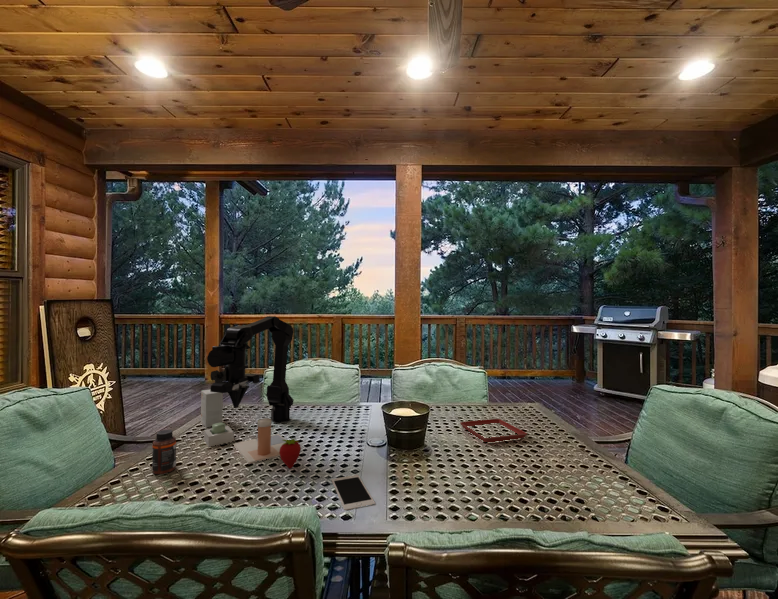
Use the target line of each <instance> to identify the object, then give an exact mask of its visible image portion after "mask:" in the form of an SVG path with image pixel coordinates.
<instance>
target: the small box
mask: <svg viewBox="0 0 778 599" xmlns="http://www.w3.org/2000/svg"><path fill="white" fill-rule="evenodd" d="M200 392H201V394H200V395H201V396H200V423H201V424H202V425H203V427H205V428H210V427H211V426H212V425H213V424H215V423H223V409H224V408H223V407H224V405H223V401H224V400H223V398H224V397H223V396H224V393H218V392H210V389H204V390H201V391H200ZM211 428H212V427H211Z"/></svg>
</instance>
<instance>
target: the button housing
mask: <svg viewBox="0 0 778 599" xmlns="http://www.w3.org/2000/svg"><path fill="white" fill-rule="evenodd" d="M234 433H235V432H234V430H232V428H231V427H230V426H229V425H225V432H223V433H218V434H212V428H207V429H204V430H203V442H205V444H206V446H207V447H208V448H211V446H212V447H216V446H220V445H219V444H221V445H224V444H223V443H226V444H228V443H227V442H230V443H233V442H232V441H235V440H234V439H235V438H234V437H235V436H234V435H235V434H234ZM215 445H216V446H215Z"/></svg>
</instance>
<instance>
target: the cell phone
mask: <svg viewBox="0 0 778 599" xmlns="http://www.w3.org/2000/svg"><path fill="white" fill-rule="evenodd" d="M331 482H332V485H333V486H334V487H333V488H334V490H335V492H336V494H337V496H338V499H339V501H340V504H341V506H342V508H343V510H344V511H349V510H353V509H354V508H356V509H359V508H358V507H361V506H366V505H371V506H373V505H372V504H375V505H376V502H375V500H374V498H373V497H372V495H371V493H370V492H369V490H368V488H367V487H366V485H365V484H364V482H363V480H362V478H361V477H360V476H359V474H354V475H348V476H343V477H336V478H331ZM366 507H367V506H366ZM361 508H362V507H361ZM354 510H355V509H354Z"/></svg>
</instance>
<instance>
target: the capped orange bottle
mask: <svg viewBox="0 0 778 599" xmlns="http://www.w3.org/2000/svg"><path fill="white" fill-rule="evenodd" d="M271 435H272V420H271V418H267V417H266V418H265V417H264V418H260V419H258V420H257V438H258V455H261V456H264V455H268V454H270V453H271Z"/></svg>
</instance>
